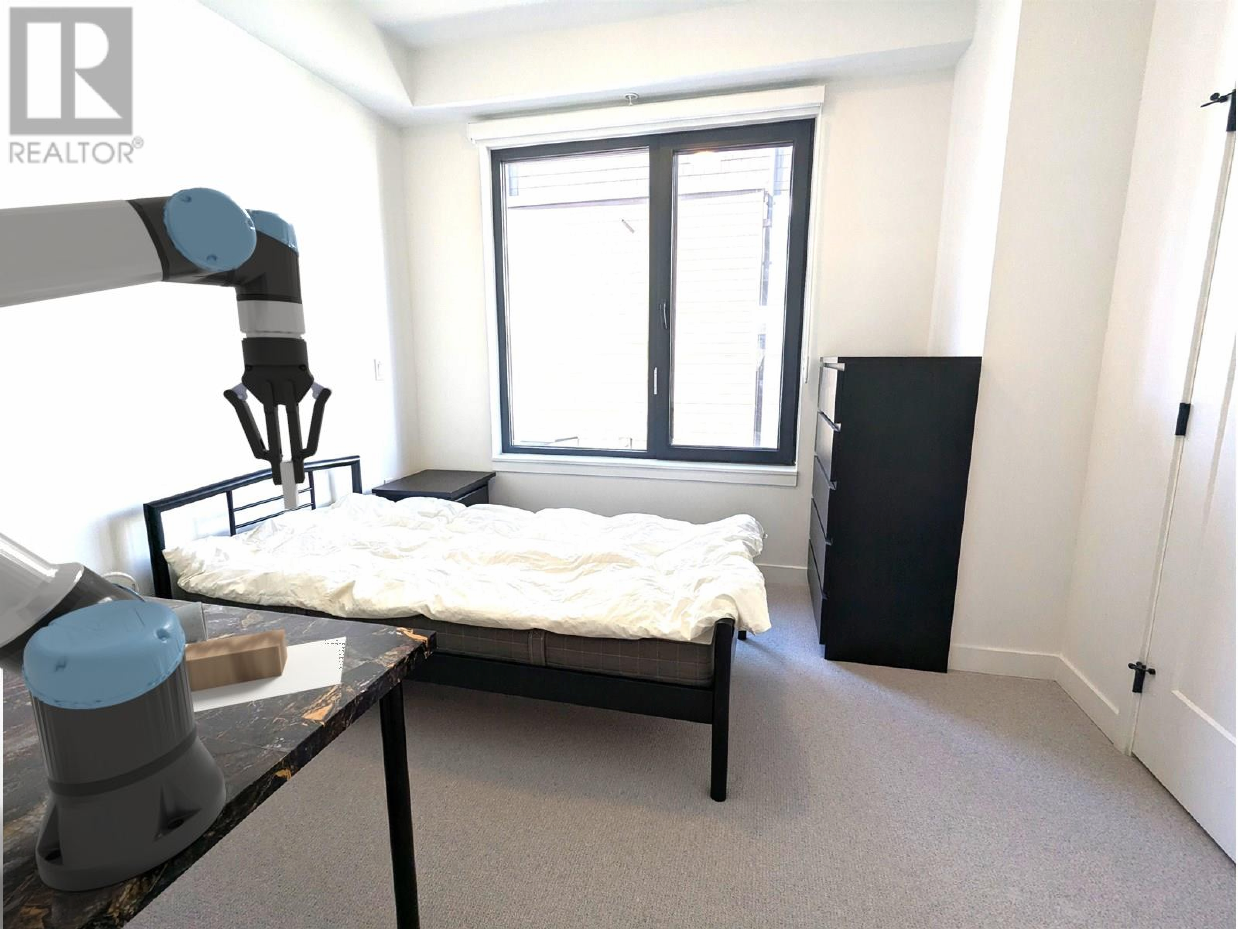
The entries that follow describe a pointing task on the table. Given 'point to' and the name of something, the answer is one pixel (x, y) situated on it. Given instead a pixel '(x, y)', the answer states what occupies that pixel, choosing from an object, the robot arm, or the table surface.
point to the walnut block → (236, 659)
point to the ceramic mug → (193, 622)
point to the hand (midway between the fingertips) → (292, 506)
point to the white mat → (282, 677)
